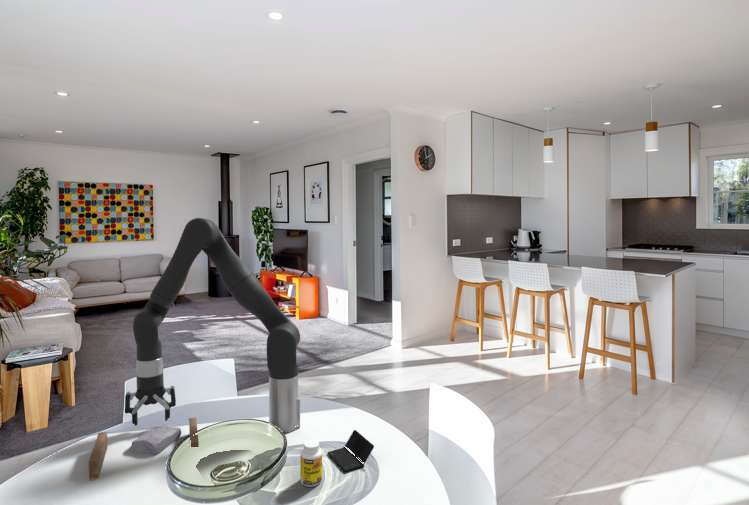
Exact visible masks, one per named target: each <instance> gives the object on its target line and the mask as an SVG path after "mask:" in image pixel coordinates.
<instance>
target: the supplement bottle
mask: <svg viewBox="0 0 749 505" xmlns="http://www.w3.org/2000/svg"><path fill="white" fill-rule="evenodd" d="M299 459H300V462H299V463H300V467H299V468H300V469H299V470H300V474H299V475H300V476H299V477H300V479H299V481H300V484H301V485H303V486H304V487H307V488H308V487H309V488H313V487H316V486H318V485H320V484H321V482H322V480H323V450H322V449H321V447H320V442H319V441H318V440H317V439H309V440H306V441H304V442H303V448H302V450H301V451H300V458H299Z"/></svg>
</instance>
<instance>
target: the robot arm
mask: <svg viewBox="0 0 749 505" xmlns="http://www.w3.org/2000/svg"><path fill="white" fill-rule="evenodd" d="M175 248H176V249H175V250H174V252H173V255H172V257H171V259H170V260H169V263H168V264H167V266H166V268H165V270H164V271H163V272H162V274H161V276H160V278H159V280H158V281H157V282H156V284H155V285H154V287H153V289H152V291H151V293H150V295H149V299H148V300H147V302H146V304H145V306H144V307H143V308H142V310H141V311H139V312H138V313H137V314H136V315H135V316H134V318H133V323H132V331H133V337H134V341H135V344H136V364H135V375H136V391H134V392H130V391H126V393H125V396H124V399H125V400H124V413H125V414H131V423H132V425H134V426H138V423H139V421H138V420H139V418H138V416H139V414H138V411H139V410H140V409H141V407H143V405H144V406H149V405H157V403H158V404H159V405H161V406H162V407H163V408H164V421H165V422H167V421H168V419H170V417H171V408H173V407H176V404H177V402H176V401H177V400H176V392H175V391H176V390H175V386H174V385H171V386H170V387H166V388H165V386H164V385H165V384H164V362H163V349H162V348H163V345H162V340H161V339H160V338H159V327H160V326H161V325H162V323H163V321H164V320H165V318H166V316H167V314H168V312H169V310H170V308H171V306H172V305H173V303H174V302H175V300H176V299H177V297H178V295H179V294H180V292H181V290H182V289H183V287H184V284H185V282H186V280H187V278H188V274H189V272H190V269H191V268H192V265H193V263H194V262H195V259H197V257H198V256H199V255H200V254H201V252H203V253H204V254H205V255H206V256H207V257H208V258H209V259H210V260H211V262H212V263H213V264H214V266H215V268H216V270H217V272H218V275H219V276H220V279H221V281H222V284H223V285H224V287H225V288H226V290H227V291H228V292H229V294H230V295H231V296H232V298H234V300H235V301H236V303H238V304H239V305H240V306H241V307H242V308H243V309H244V310H246V311H248V312H249V313H250V314H251V315H253V316H255V317H256V318H257V319H258V320H259V321H260V322H261V323H262V325H263V326H264V327H265V329H266V330H267V331H268V334H267V335H268V336H267V339H266V367H267V369H268V370H267V371H268V403H269V404H268V413H269V414H268V415H269V416H268V424H269V423H271V424H273V425H275V426H277V427H278V428H280V429H281V430H282V431H283V432H284V433H283V434H285V433H290V432H293V431H294V430H297V429H300V428H301V399H300V397H299V365H298V363H297V347H298V345H299V343H300V341H301V334H300V330H299V328H298V327H297V326H296V325H295V323H294V322H292V320H291V319H290V318H289V317H287V315H286V314H285V313H284V312H283V311H282V310H281V309H280V308H279V306H278V305H277V304H276V302H275V301H274V300H273V298H272V297H271V295H270V294H269V293H268V292H267V290H266V289H265V287H264V286H263V285H262V283H261V282H260V280H259V279H258V278H257V276H255V274H254V273H253V272H252V270H251V269H250V268H249V267H248V265H246V263H245V262H244V261H243V260H242V259H241V258H240V256H238V254H236V252H235V251H234V250H233V248H232V247H231V246H230V243H228V241H227V239H226V237H225V236H224V234H223V233H222V231H221V229H220V227H218V225H217V224H216V223H215V222H214V221H213V220H211V219H208V218H204V217H203V218H202V217H196V218H192V219H190V220H189V221H188V222H187V223H186V224H185V226H184V229H183V231H182V234H181V236H180V239H179V241H178V244H177V245H176V247H175ZM166 393H167V395H168V396H170V402H168V400H166V398H165V397H164V395H165V394H166ZM134 397H135V398H136V399H137V400H138V401H136V404H135V405H134V406H133V407H131V401H133V399H134ZM297 425H298V426H297ZM295 426H296V427H295Z"/></svg>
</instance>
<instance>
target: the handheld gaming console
mask: <svg viewBox="0 0 749 505" xmlns="http://www.w3.org/2000/svg"><path fill="white" fill-rule="evenodd" d="M344 446H345V447H347V448H349V449H350V450H351V451H352V452H353V453H354V454H355V456H354V455H353V454H351V453H350V452H349V451H348V450H347V449H346V448H345V447H344ZM344 446H343V447H340V448H337V449H333V450H331V451H327V456H328V457H329V458H330V459H331V461H333V462H334V463H335V465H336V466H337V467H338V468H339V469H341V471H343V472H342V473H344V474H347V473H351V472H353V471H357V470H360V469H363V468H365V464H366V462H367V461H368V459H369V457H370V455H371V454H372V452H373V450H374V449H375V445H374V444H373V443H372V442H370V440H368V439H367V438H365V436H363V435H362V434H361V433H360V432H359V431H358V430H356V429H354V430H353V431H352V433H351V435H350V436H349V438H348V440H347V442H346V443H345V445H344ZM356 457H357V458H358V457H359V458H360V459H361V460H362V461H363V462H364V464H362V463H361V462H362V461H361V460H360V459H359V458H358V459H359V460H360V461H361V462H360V461H359V460H358V459H357V458H356Z"/></svg>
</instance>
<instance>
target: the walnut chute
mask: <svg viewBox="0 0 749 505" xmlns="http://www.w3.org/2000/svg"><path fill="white" fill-rule="evenodd" d="M197 421H198V420H197V417H190V418H189V419H188V422H189V423H188V424H189V425H188V426H189V428H188V429H189V441H190V440H191V447H199V446H200V445H199V443H200V442H199V434H198V435H195V433H197V432H198V424H197V423H198V422H197ZM198 433H199V432H198ZM193 434H194V436H193ZM107 450H108V432H107V431H103V432H98V434H97V436H96V439H95V442H94V446H93V448H92V451H91V453H90V456H89V459H88V475H89V476H88V477H89V478H88V479H89V481H92V480H98V479H99V478H100V475H101V472H102V469H103V465H104V460H105V457H106V454H107Z"/></svg>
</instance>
